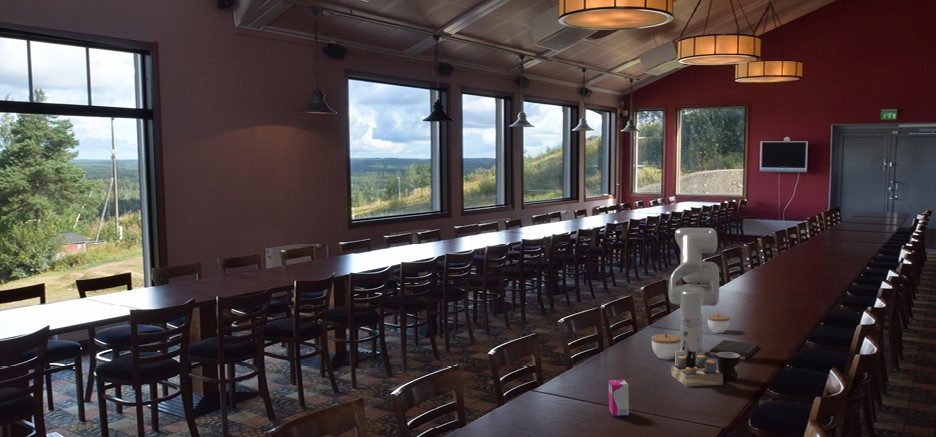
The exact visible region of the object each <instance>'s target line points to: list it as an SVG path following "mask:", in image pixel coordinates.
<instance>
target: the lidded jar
mask: <svg viewBox="0 0 936 437" xmlns="http://www.w3.org/2000/svg"><path fill="white" fill-rule="evenodd" d="M706 319H707V326H708V328H709V329H710V331H711V332H712V333H715V334H723V333H725V332H726V331H728V329H729V327H730V326H729V325H730V316H729V315H724V314H720V313H717V314H710V315H708V316H707V317H706Z"/></svg>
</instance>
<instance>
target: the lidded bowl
mask: <svg viewBox="0 0 936 437" xmlns="http://www.w3.org/2000/svg"><path fill="white" fill-rule="evenodd" d="M650 339H651V347H652V351H653V353H654V354H655V355H656V356H657V358H658V359H660V360H675V351H679V349H680V347H681V336H678V335H675V334H670V333H668V332H664V333H659V334H657V333H656V334H654V335H652V336H651V338H650Z"/></svg>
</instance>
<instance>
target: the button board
mask: <svg viewBox="0 0 936 437" xmlns="http://www.w3.org/2000/svg"><path fill="white" fill-rule="evenodd" d="M670 367H671V368H670V369H671V370H670V371H671V372H670V374H671V376H672V377H673V378H674V379H676V381H678V382H680V383H681V385H684V386H685V387H699V386H701V387H703V386H718V385H719V386H720V385H723V384H724V381H723V374H721V373H720V372H719V370H717V369H716V374H709V375H707V374H705V368H703V369H698V368H697V367H694V368H696V375H691V376H687V375H686V374H685V369H684V370H679V369H678V368H677V365H675V364H674V365H671V366H670Z"/></svg>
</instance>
